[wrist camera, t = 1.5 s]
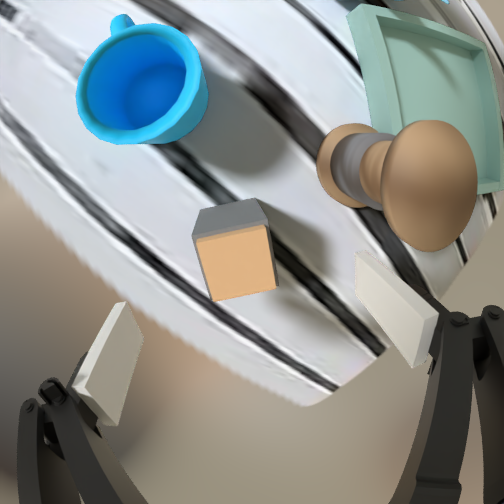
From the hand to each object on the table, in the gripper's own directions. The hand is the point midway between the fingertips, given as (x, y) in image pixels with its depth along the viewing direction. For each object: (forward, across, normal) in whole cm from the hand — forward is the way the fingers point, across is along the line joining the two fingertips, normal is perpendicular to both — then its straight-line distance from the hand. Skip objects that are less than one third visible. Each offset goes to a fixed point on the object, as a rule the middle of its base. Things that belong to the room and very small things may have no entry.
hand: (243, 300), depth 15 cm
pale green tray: (+11, +25, +10) cm, 29 cm away
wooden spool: (+11, +12, +4) cm, 17 cm away
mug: (+11, -4, +16) cm, 20 cm away
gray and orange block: (+12, 0, 0) cm, 12 cm away
